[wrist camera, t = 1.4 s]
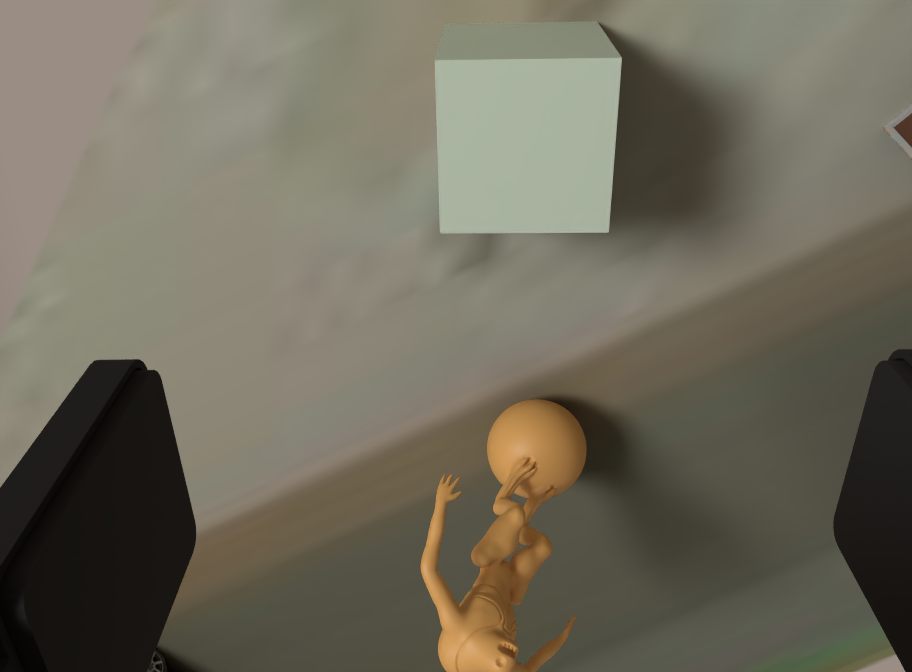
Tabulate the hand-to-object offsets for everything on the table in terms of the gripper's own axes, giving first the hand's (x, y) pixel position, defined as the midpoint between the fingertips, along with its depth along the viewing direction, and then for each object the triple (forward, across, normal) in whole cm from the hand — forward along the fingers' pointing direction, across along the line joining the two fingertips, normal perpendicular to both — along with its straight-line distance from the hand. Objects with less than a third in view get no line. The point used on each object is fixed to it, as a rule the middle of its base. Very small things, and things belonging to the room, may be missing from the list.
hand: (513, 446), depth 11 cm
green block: (+20, -1, +1) cm, 20 cm away
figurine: (+20, -1, +15) cm, 25 cm away
